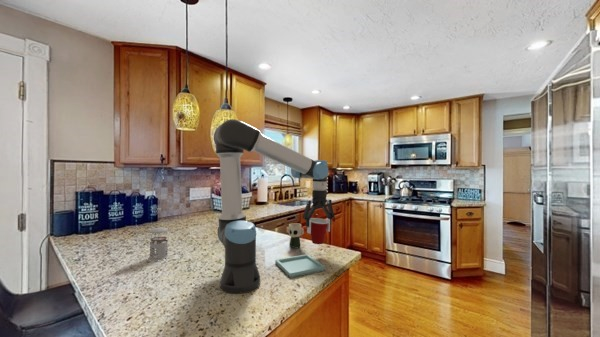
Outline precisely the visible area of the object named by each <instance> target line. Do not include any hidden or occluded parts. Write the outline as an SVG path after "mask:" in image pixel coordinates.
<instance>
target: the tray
mask: <svg viewBox="0 0 600 337" xmlns="http://www.w3.org/2000/svg"><path fill="white" fill-rule="evenodd" d="M274 260H275V265H276V266H277V267H278V268H279V269H280V270H282V272H284V274H286V275H287V276H288V277H289V278H290V279H291V278H297V277H300V276H304V275H310V274H315V273H320V272H324V271H326V266H325V265H324V264H322V263H321V262H319V261H318V260H317V259H315V258H313V257H312V256H310V255H309V254H308V253H306V254H301V255H294V256H289V257H284V258H278V259H274Z"/></svg>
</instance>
